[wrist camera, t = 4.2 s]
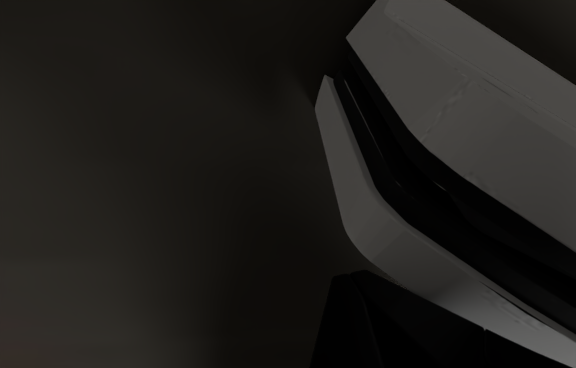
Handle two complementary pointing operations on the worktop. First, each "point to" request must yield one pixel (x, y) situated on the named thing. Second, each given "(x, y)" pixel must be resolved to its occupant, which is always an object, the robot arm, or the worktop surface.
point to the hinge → (459, 169)
